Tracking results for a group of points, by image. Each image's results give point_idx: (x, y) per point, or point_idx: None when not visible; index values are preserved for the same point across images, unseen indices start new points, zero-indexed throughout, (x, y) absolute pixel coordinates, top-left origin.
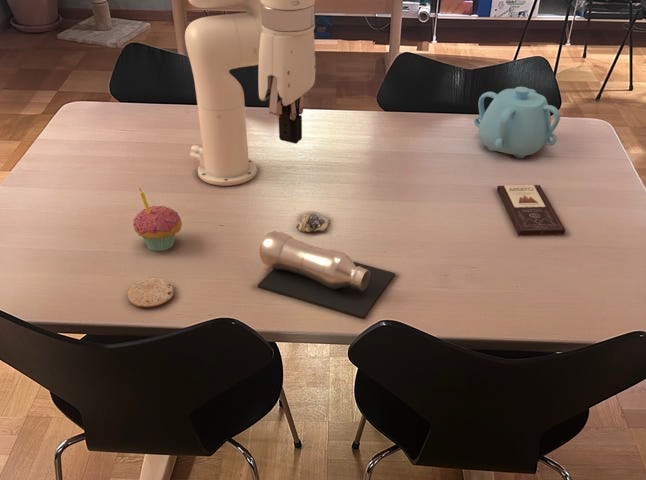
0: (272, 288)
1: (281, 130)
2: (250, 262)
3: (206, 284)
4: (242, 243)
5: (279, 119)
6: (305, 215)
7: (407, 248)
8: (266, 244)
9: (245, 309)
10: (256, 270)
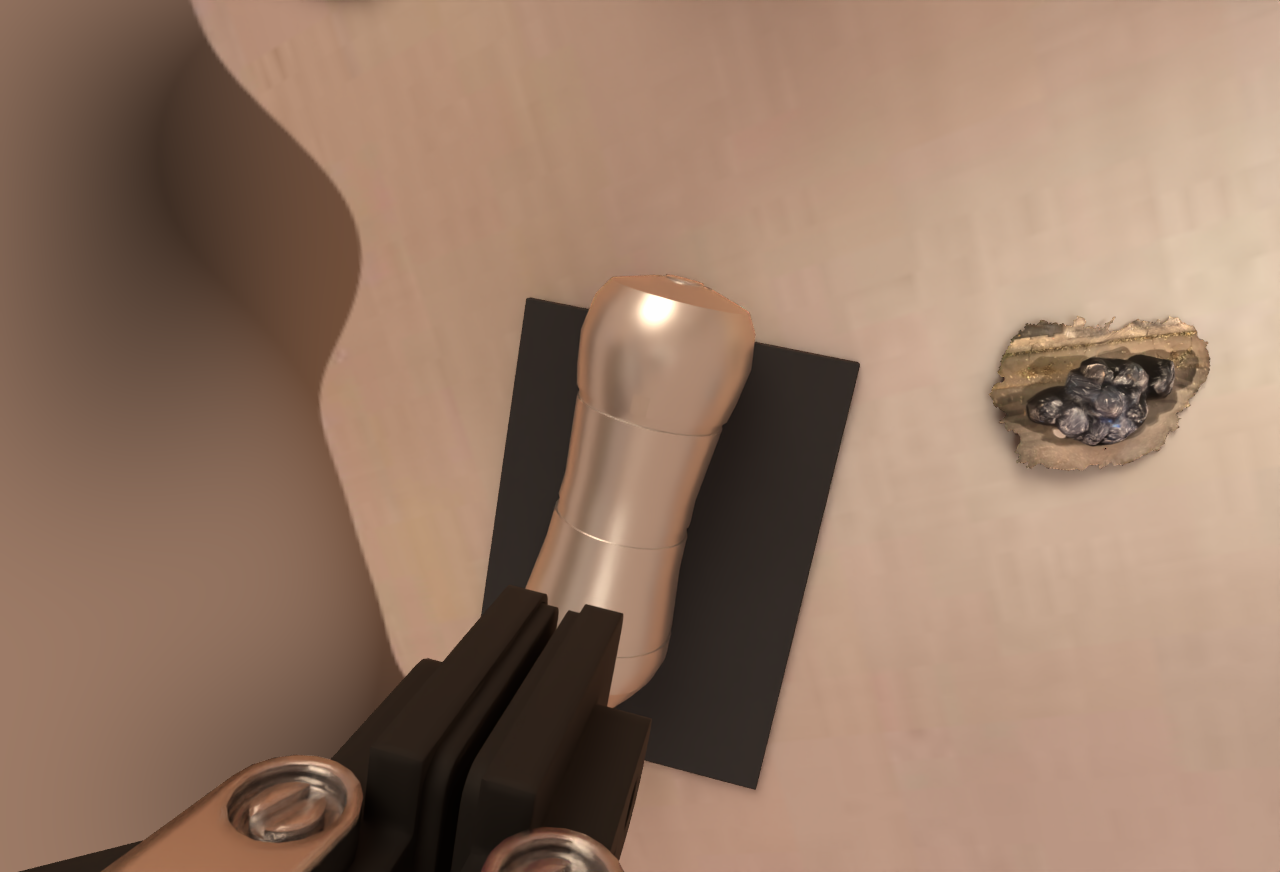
0: (523, 364)
1: (394, 691)
2: (694, 202)
3: (486, 77)
4: (841, 102)
5: (405, 718)
6: (1180, 329)
7: (966, 814)
8: (599, 319)
9: (389, 300)
10: (642, 250)
